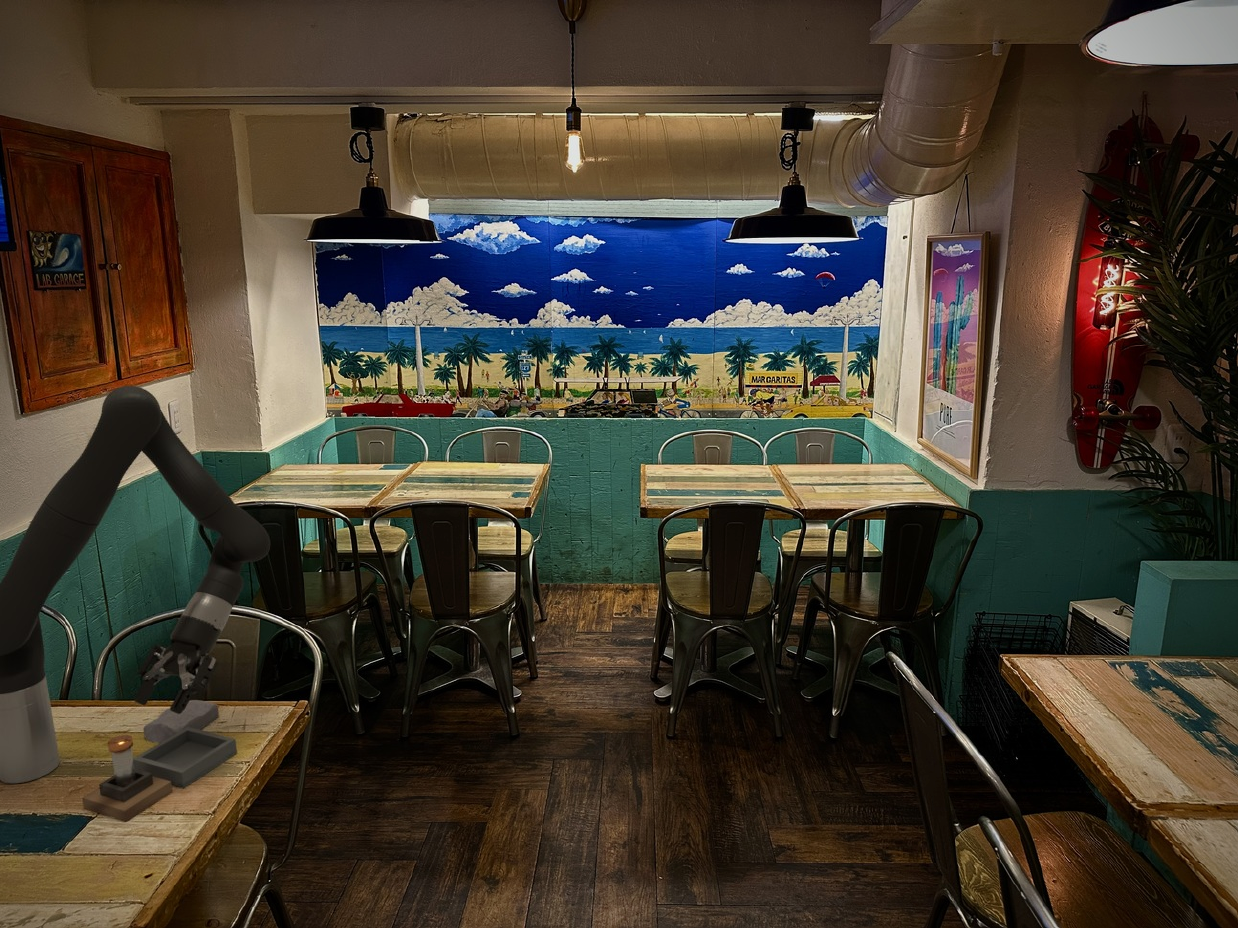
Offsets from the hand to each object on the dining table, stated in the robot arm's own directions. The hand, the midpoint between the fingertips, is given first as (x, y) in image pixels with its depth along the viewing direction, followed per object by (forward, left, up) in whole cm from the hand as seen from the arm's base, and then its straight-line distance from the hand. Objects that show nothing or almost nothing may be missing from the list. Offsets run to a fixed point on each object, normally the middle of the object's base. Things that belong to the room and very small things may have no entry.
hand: (157, 707), depth 153 cm
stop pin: (0, -8, -11) cm, 14 cm away
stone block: (-12, +14, -14) cm, 23 cm away
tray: (0, +4, -13) cm, 14 cm away
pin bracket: (0, -8, -13) cm, 15 cm away
